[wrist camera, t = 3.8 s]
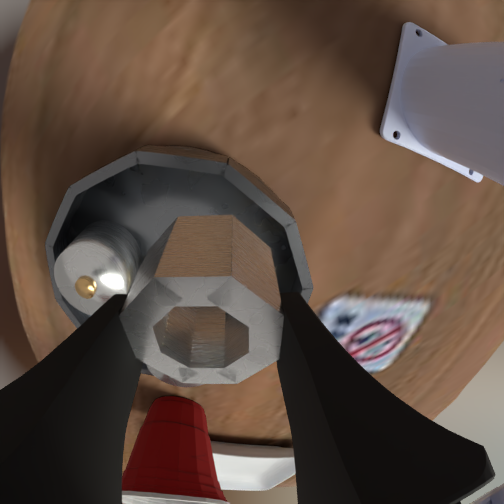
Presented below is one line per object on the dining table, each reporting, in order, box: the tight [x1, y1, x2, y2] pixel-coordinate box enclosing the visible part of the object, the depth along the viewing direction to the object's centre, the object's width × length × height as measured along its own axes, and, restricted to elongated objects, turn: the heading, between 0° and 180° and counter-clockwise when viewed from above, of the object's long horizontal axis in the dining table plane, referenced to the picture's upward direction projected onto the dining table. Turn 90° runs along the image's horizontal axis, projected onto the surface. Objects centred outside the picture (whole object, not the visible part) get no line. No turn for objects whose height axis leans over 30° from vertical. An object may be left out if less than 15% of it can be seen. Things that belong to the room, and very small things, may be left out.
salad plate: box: [210, 441, 296, 490], centre depth 34 cm, size 21×21×3 cm
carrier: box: [45, 145, 313, 387], centre depth 16 cm, size 16×16×5 cm
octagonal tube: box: [119, 215, 284, 384], centre depth 9 cm, size 4×4×3 cm
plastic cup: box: [122, 396, 230, 504], centre depth 22 cm, size 11×11×12 cm
